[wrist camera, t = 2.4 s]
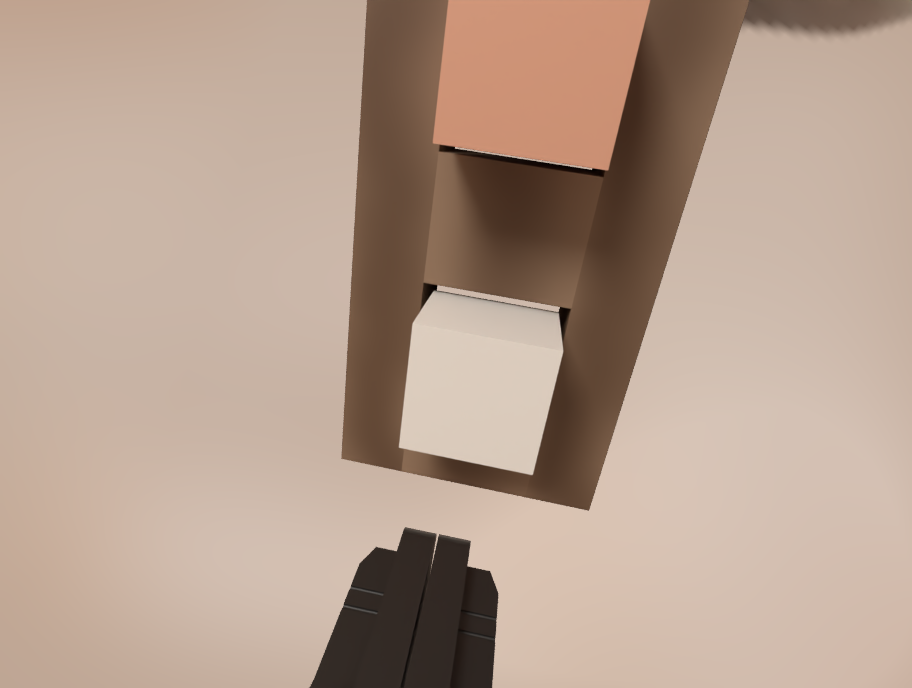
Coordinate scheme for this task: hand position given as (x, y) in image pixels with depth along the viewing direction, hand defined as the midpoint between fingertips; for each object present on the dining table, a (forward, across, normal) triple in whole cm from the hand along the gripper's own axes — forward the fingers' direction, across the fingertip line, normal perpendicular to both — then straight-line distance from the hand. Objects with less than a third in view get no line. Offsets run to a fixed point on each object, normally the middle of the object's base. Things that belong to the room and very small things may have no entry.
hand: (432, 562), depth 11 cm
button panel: (+15, 0, -6) cm, 16 cm away
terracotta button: (+12, 0, -11) cm, 16 cm away
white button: (+12, 0, 0) cm, 12 cm away
